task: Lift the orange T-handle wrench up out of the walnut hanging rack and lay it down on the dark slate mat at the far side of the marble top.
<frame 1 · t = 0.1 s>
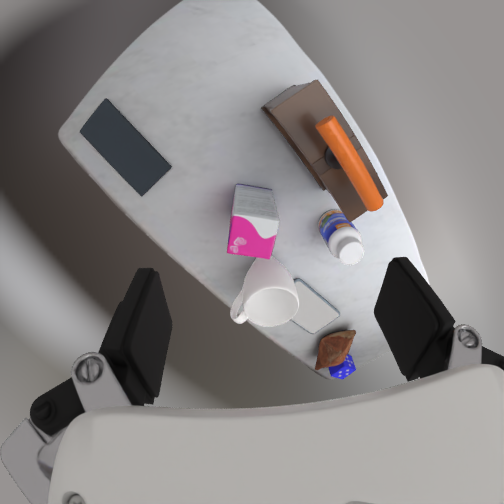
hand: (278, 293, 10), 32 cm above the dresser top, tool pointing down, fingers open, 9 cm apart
mat: (123, 146, 36), on the dresser top
supplement box: (250, 202, 43), on the dresser top
smartphone: (305, 306, 55), on the dresser top
die: (338, 357, 67), on the dresser top
pill bottle: (332, 222, 45), on the dresser top
T-handle: (315, 141, 34), point 3 cm above the dresser top, touching rack
mug: (257, 269, 50), on the dresser top
rack: (309, 138, 37), on the dresser top
reddish-brown rock: (331, 338, 62), on the dresser top
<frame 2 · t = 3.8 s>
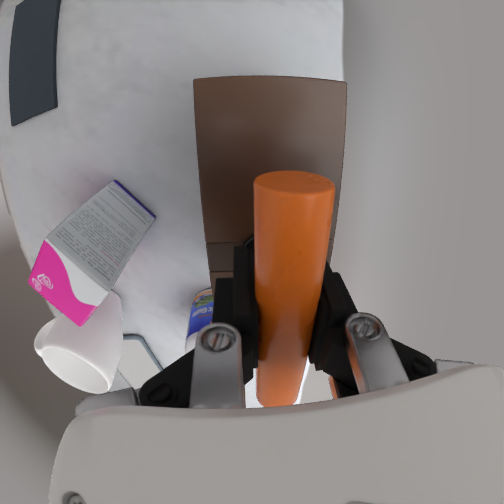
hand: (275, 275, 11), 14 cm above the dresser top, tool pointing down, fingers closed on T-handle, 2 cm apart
mat: (32, 49, 13), on the dresser top
supplement box: (120, 215, 25), on the dresser top
smartphone: (138, 364, 37), on the dresser top
pill bottle: (215, 303, 31), on the dresser top
T-handle: (258, 192, 20), point 4 cm above the dresser top, touching gripper
mug: (95, 298, 30), on the dresser top
rack: (255, 179, 23), on the dresser top
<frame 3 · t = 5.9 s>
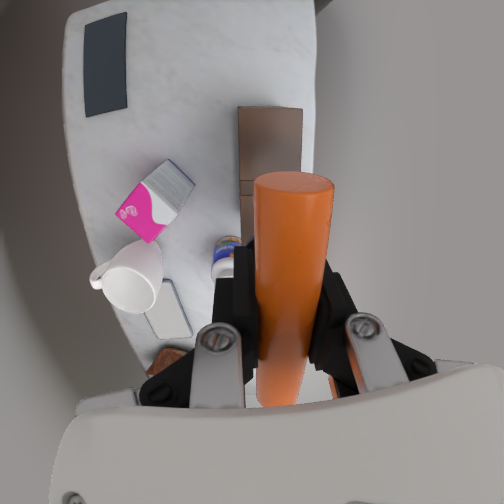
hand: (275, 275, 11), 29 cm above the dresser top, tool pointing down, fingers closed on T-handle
mat: (104, 63, 27), on the dresser top
supplement box: (169, 183, 38), on the dresser top
smartphone: (164, 310, 51), on the dresser top
pill bottle: (230, 249, 45), on the dresser top
T-handle: (258, 194, 21), point 18 cm above the dresser top, touching gripper
mug: (138, 248, 44), on the dresser top
rack: (260, 161, 37), on the dresser top
reddish-brown rock: (174, 353, 58), on the dresser top
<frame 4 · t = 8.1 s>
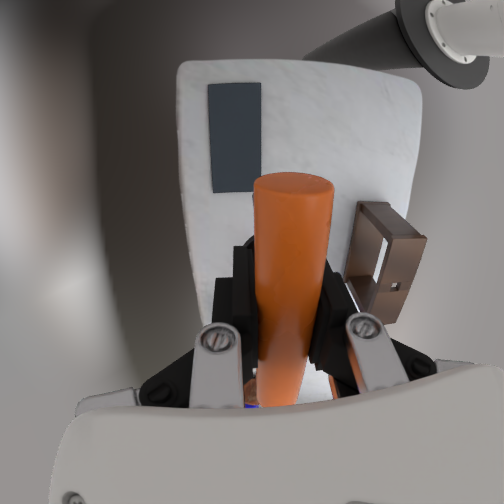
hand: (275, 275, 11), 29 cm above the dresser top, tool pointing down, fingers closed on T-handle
mat: (235, 138, 35), on the dresser top
die: (247, 396, 72), on the dresser top
T-handle: (258, 194, 21), point 19 cm above the dresser top, touching gripper
rack: (365, 243, 45), on the dresser top
reddish-brown rock: (255, 381, 67), on the dresser top
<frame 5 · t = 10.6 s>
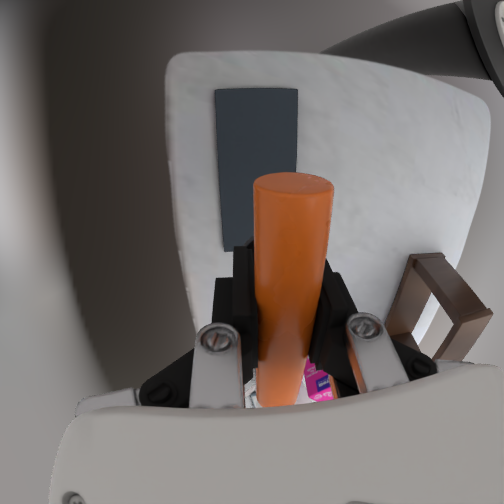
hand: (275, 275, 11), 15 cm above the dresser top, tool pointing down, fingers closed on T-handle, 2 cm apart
mat: (257, 173, 24), on the dresser top
supplement box: (321, 322, 36), on the dresser top
T-handle: (258, 194, 21), point 5 cm above the dresser top, touching gripper
rack: (409, 299, 34), on the dresser top
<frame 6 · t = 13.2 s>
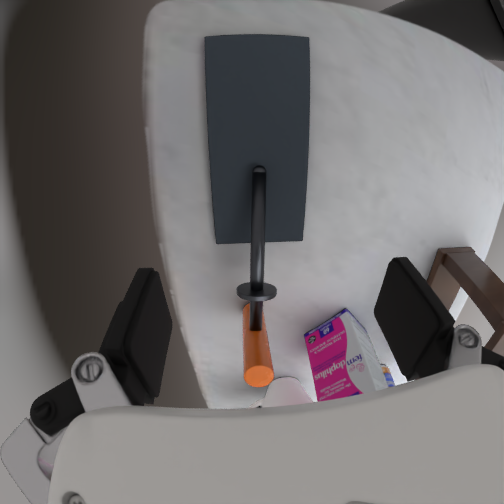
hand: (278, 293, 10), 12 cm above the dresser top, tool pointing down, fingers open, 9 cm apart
mat: (258, 141, 18), on the dresser top
supplement box: (335, 330, 29), on the dresser top
T-handle: (259, 165, 18), point 1 cm above the dresser top, tilted 72°, touching mat
mug: (270, 384, 35), on the dresser top
rack: (433, 301, 28), on the dresser top
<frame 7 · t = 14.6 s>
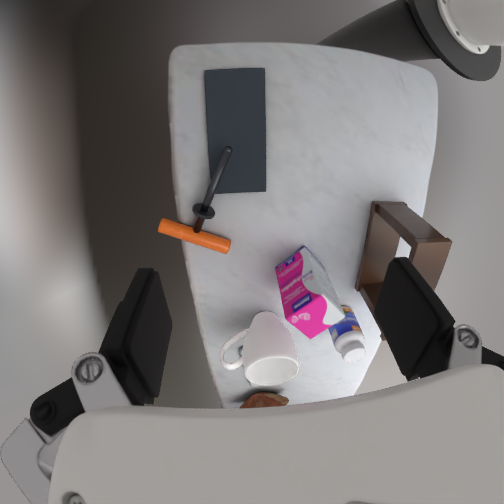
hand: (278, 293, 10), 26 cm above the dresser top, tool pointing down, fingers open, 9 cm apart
mat: (236, 130, 31), on the dresser top
supplement box: (299, 266, 42), on the dresser top
pill bottle: (338, 315, 48), on the dresser top
T-handle: (229, 146, 29), point 3 cm above the dresser top, tilted 97°
mug: (254, 319, 47), on the dresser top
rack: (379, 247, 41), on the dresser top
reddish-brown rock: (259, 394, 62), on the dresser top
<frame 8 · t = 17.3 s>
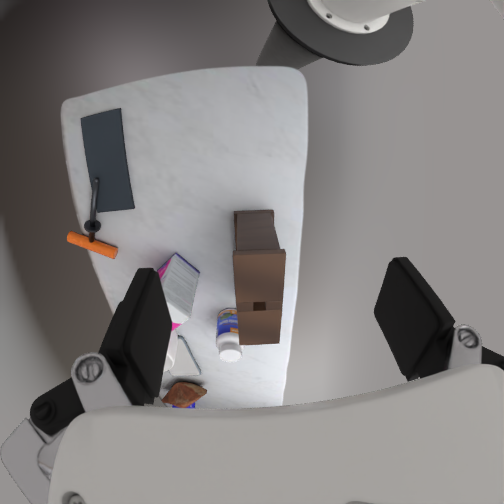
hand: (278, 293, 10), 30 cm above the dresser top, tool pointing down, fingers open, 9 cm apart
mat: (107, 162, 35), on the dresser top
supplement box: (177, 270, 47), on the dresser top
smartphone: (177, 355, 60), on the dresser top
die: (184, 399, 72), on the dresser top
pill bottle: (231, 316, 53), on the dresser top
T-handle: (96, 177, 34), point 3 cm above the dresser top, tilted 97°
mug: (154, 314, 52), on the dresser top
rack: (254, 254, 45), on the dresser top
reddish-brown rock: (185, 384, 67), on the dresser top
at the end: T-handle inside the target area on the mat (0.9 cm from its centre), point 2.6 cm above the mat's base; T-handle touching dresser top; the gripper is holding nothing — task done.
